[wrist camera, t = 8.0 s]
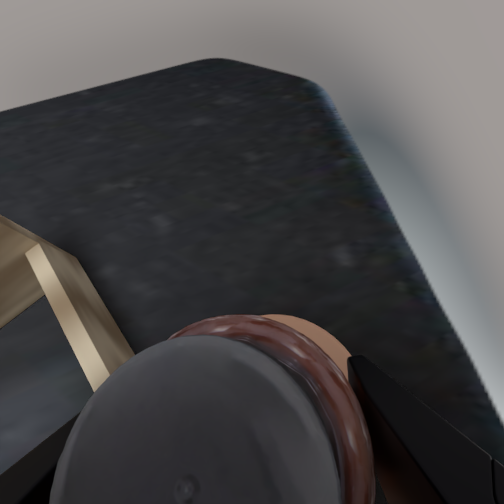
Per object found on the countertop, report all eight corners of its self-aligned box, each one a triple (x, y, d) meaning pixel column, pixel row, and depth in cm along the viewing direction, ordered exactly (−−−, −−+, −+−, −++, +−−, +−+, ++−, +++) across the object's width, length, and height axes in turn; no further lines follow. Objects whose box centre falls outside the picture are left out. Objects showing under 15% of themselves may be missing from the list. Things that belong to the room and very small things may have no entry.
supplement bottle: (273, 325, 16) (223, 207, 5) (363, 423, 13) (575, 533, 3) (186, 409, 15) (-79, 454, 4) (267, 532, 12) (94, 1272, 2)
